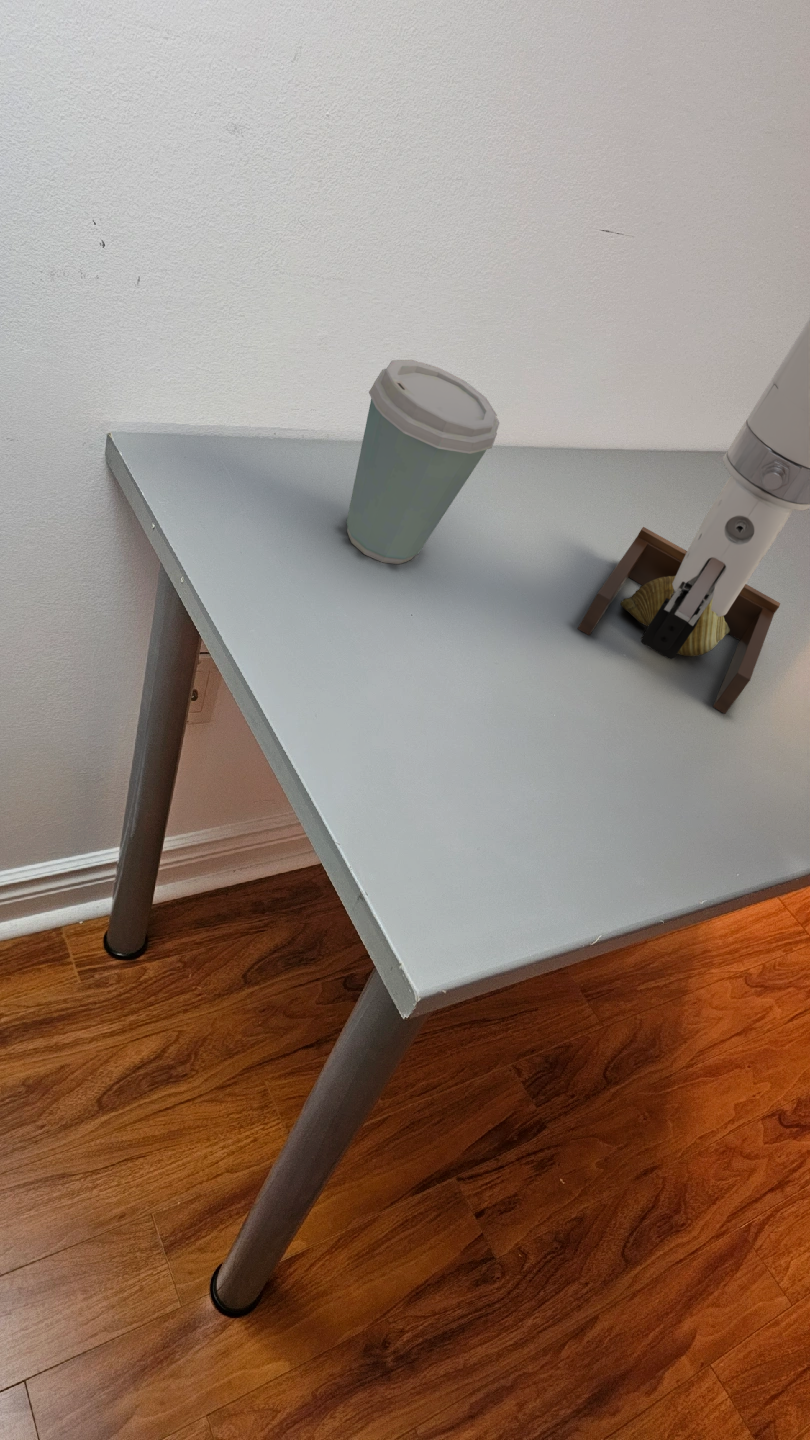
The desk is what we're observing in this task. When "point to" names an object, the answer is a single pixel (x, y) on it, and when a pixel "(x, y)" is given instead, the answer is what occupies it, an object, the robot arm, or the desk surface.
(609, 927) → the desk surface
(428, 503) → the disposable coffee cup
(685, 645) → the seashell
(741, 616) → the frame
